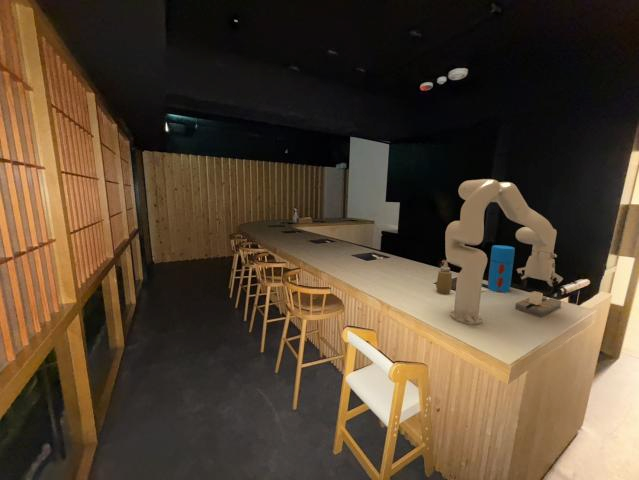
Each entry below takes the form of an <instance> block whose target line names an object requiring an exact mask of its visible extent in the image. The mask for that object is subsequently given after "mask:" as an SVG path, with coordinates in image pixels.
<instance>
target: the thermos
mask: <svg viewBox="0 0 639 480" xmlns="http://www.w3.org/2000/svg"><path fill="white" fill-rule="evenodd" d="M515 251H516V249H515V247H513V246H509V245H501V244H500V245H492V246H491V253H490V261H489V268H488V269H489V270H488V278H487V290H490V291H492V292H496V293H501V294H502V293H504V294H505V293H510V289H511V286H512V285H511V283H512V275H513V268H514V260H515Z"/></svg>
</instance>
